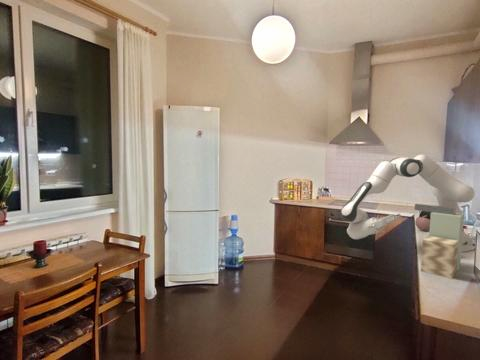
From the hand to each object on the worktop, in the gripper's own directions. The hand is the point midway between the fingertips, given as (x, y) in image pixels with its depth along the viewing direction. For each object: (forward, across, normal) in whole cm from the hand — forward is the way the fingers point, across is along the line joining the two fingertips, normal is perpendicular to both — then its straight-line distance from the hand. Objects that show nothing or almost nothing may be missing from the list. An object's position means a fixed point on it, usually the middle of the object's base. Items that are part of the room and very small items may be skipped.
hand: (397, 216), depth 163 cm
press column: (+9, 0, +30) cm, 31 cm away
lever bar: (+16, 0, +4) cm, 17 cm away
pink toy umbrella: (-13, +76, +17) cm, 79 cm away
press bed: (+9, -12, +30) cm, 33 cm away
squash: (-16, +103, +16) cm, 106 cm away
